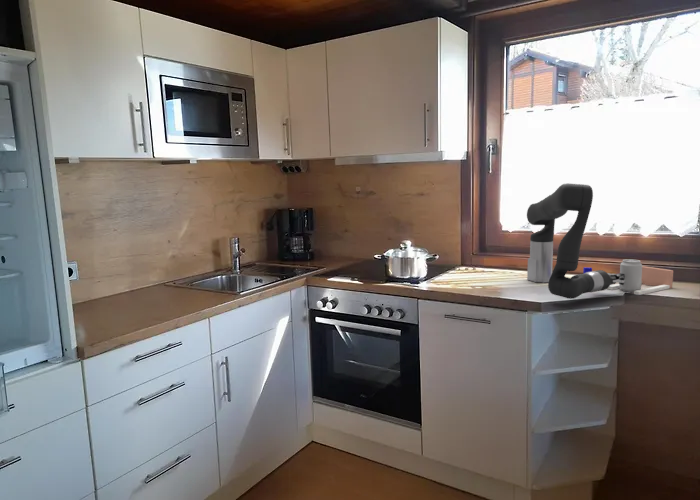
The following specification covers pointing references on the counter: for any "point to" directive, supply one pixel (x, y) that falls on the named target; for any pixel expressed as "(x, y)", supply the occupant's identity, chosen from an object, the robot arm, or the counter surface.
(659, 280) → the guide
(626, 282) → the can
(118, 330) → the counter surface
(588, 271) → the cable clip
